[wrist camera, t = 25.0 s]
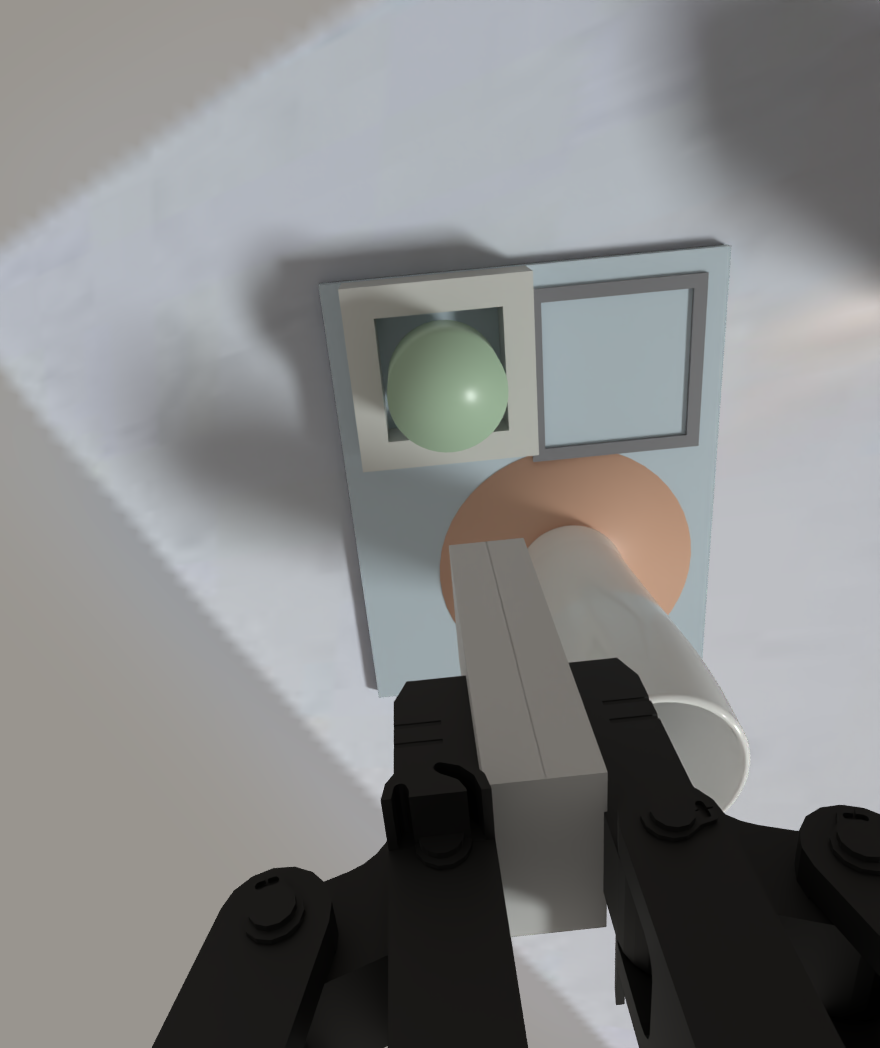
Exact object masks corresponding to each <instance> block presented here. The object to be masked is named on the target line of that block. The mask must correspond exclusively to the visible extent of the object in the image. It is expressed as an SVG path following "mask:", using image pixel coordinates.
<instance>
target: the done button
mask: <svg viewBox="0 0 880 1048" xmlns="http://www.w3.org/2000/svg"><path fill="white" fill-rule="evenodd" d="M387 401H388V406H389V410H390V413H391V416H392V418H393V420H394V422H395V424H396V425H397V427H398V429H399V430H400V431H401V432H402V433H403V434H404V435H405V436H406V437H407V438H408V439H409V440H410V441H412V442H413V443H415V444H416V445H418V446H420V447H422V448H425V449H428V450H431V451H436V452H445V453H446V452H457V451H462V450H466V449H469V448H471V447H473V446H475V445H477V444H479V443H481V442H482V441H483V440H485V439H486V438H487V437H488V436H489V435H490V434H491V433H492V432H493V431H494V430H495V429H496V427H497V426H498V425H499V423H500V421H501V420H502V418H503V415H504V413H505V410H506V407H507V402H508V381H507V377H506V373H505V371H504V368H503V366H502V364H501V362H500V361H499V359H498V357H497V355H496V353H495V352H494V350H493V348H492V346H491V345H490V343H489V342H488V341H487V339H486V338H485V337H484V336H483V335H482V334H481V333H480V332H478V331H477V330H476V329H474V328H473V327H471V326H469V325H467V324H464V323H462V322H458V321H453V320H436V321H431V322H427V323H424V324H422V325H420V326H418V327H416V328H414V329H413V330H411V331H410V332H409V333H408V334H406V335H405V336H404V337H403V338H402V340H401V341H400V342H399V343H398V345H397V346H396V348H395V350H394V352H393V354H392V357H391V359H390V363H389V368H388V384H387Z"/></svg>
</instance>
